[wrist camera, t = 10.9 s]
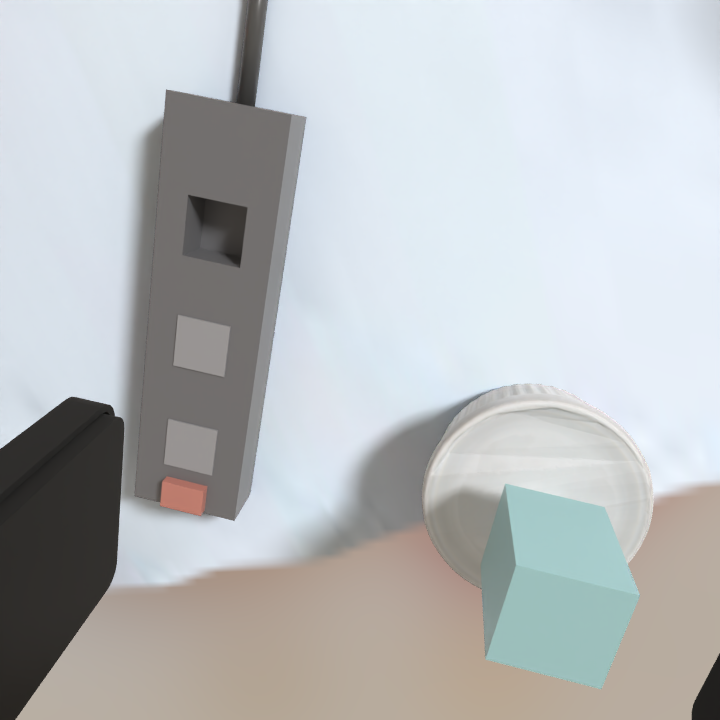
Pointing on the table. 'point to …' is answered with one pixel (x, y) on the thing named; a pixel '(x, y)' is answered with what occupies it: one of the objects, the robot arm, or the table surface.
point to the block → (554, 587)
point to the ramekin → (530, 469)
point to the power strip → (215, 289)
